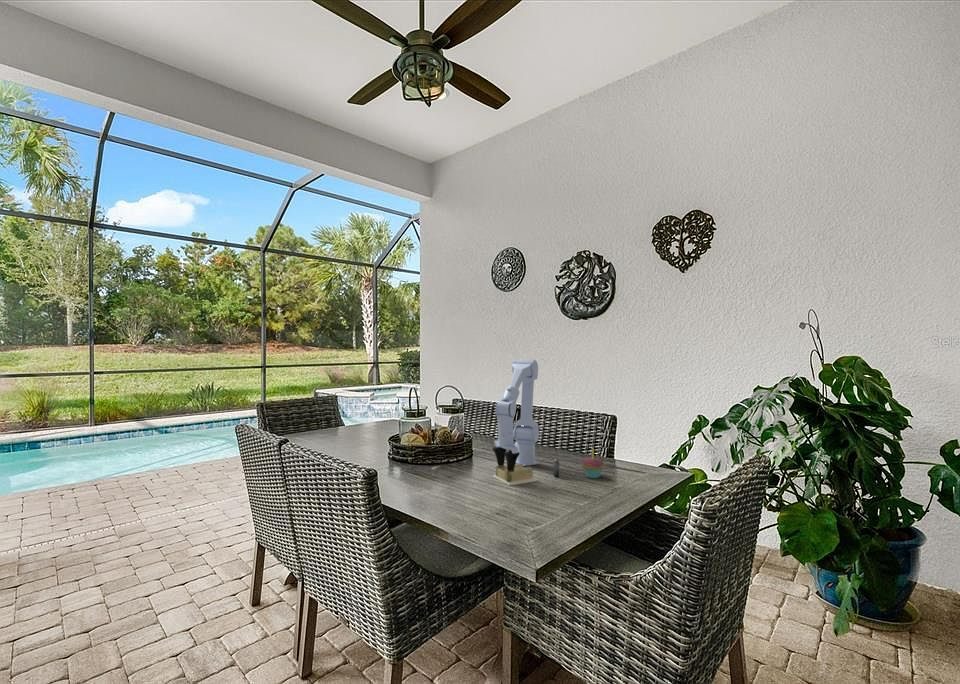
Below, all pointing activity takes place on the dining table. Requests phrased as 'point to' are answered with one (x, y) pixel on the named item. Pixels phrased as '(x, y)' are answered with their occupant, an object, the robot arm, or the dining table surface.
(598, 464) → the cupcake
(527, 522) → the dining table surface
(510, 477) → the c link
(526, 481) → the coaster
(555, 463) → the post
